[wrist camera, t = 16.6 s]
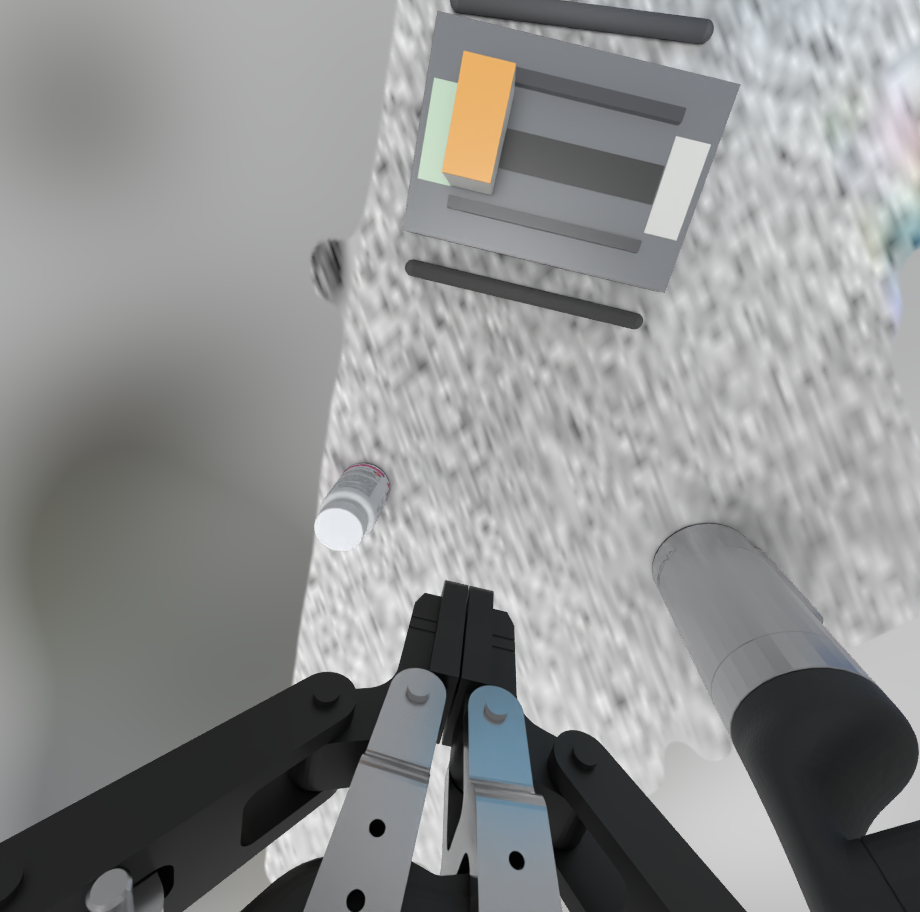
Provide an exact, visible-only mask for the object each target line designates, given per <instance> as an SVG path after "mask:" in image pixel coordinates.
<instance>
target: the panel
mask: <svg viewBox="0 0 920 912" xmlns="http://www.w3.org/2000/svg"><path fill="white" fill-rule="evenodd" d="M464 51H468V52H472V53H476V54H480V55H484V56H488V57H492V58H497V59H501V60H505V61H509V62H513V63H516V73H515V88H514V97H513V102H512V106H511V111H510V115H509V120H508V125H507V129H506V134H505V138H504V143H503V147H502V152H501V157H500V161H499V166H498V170H497V175H496V179H495V184H494V189H493V193H492V195H488V194H484V193H480V192H476V191H472V190H468V189H463V188H459V187H455V186H451V185H450V184H449V182H448V181H447V179H446V177H445V176H444V174H443V173H442V168H443V163H444V157H445V152H446V146H447V141H448V135H449V129H450V124H451V118H452V113H453V107H454V102H455V96H456V91H457V85H458V80H459V74H460V68H461V63H462V57H463V52H464ZM739 87H740V84H737V83H732V82H728V81H724V80H720V79H716V78H712V77H708V76H704V75H700V74H695V73H691V72H687V71H683V70H679V69H675V68H671V67H667V66H663V65H658V64H654V63H650V62H646V61H642V60H638V59H634V58H630V57H626V56H621V55H617V54H613V53H609V52H605V51H601V50H597V49H593V48H588V47H584V46H580V45H576V44H572V43H568V42H564V41H560V40H556V39H551V38H547V37H543V36H539V35H535V34H531V33H527V32H523V31H519V30H514V29H510V28H506V27H502V26H498V25H494V24H490V23H486V22H482V21H477V20H473V19H469V18H465V17H461V16H457V15H453V14H449V13H444V12H440V11H437V17H436V23H435V30H434V36H433V42H432V48H431V55H430V61H429V67H428V73H427V80H426V86H425V92H424V98H423V105H422V111H421V117H420V123H419V130H418V136H417V142H416V149H415V155H414V161H413V167H412V174H411V180H410V186H409V192H408V199H407V205H406V211H405V217H404V224H403V230H405V231H408V232H412V233H416V234H420V235H424V236H429V237H433V238H437V239H441V240H445V241H449V242H454V243H458V244H462V245H466V246H470V247H474V248H479V249H483V250H487V251H491V252H495V253H499V254H503V255H508V256H512V257H516V258H520V259H524V260H528V261H533V262H537V263H541V264H545V265H549V266H553V267H558V268H562V269H566V270H570V271H574V272H578V273H583V274H587V275H591V276H595V277H599V278H603V279H608V280H612V281H616V282H620V283H624V284H628V285H633V286H637V287H641V288H645V289H649V290H653V291H658V292H664V293H665V290H666V287H667V284H668V282H669V279H670V276H671V273H672V271H673V268H674V265H675V262H676V260H677V257H678V254H679V251H680V249H681V246H682V243H683V240H684V238H685V235H686V232H687V229H688V227H689V224H690V221H691V219H692V216H693V213H694V210H695V208H696V205H697V202H698V199H699V197H700V194H701V191H702V188H703V186H704V183H705V180H706V177H707V175H708V172H709V169H710V166H711V164H712V161H713V158H714V155H715V153H716V150H717V147H718V144H719V142H720V139H721V136H722V134H723V131H724V128H725V125H726V123H727V120H728V117H729V114H730V112H731V109H732V106H733V103H734V101H735V98H736V95H737V92H738V90H739Z"/></svg>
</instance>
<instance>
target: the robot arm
mask: <svg viewBox="0 0 920 912" xmlns="http://www.w3.org/2000/svg"><path fill="white" fill-rule="evenodd" d="M652 572H653V577H654V581H655V583H656V585H657V587H658V589H659V591H660V593H661V595H662V597H663V600H664V602H665V604H666V606H667V608H668V610H669V613H670V615H671V617H672V619H673V621H674V623H675V625H676V627H677V629H678V631H679V633H680V635H681V637H682V639H683V641H684V644H685V646H686V648H687V650H688V652H689V654H690V656H691V658H692V660H693V662H694V664H695V666H696V668H697V670H698V672H699V675H700V677H701V679H702V681H703V683H704V685H705V687H706V689H707V691H708V693H709V695H710V697H711V699H712V701H713V703H714V705H715V707H716V709H717V711H718V713H719V716H720V718H721V720H722V722H723V724H724V726H725V728H726V730H727V732H728V734H729V736H730V738H731V740H732V742H733V744H734V746H735V748H736V750H737V752H738V754H739V756H740V758H741V760H742V762H743V764H744V766H745V768H746V770H747V772H748V774H749V776H750V778H751V780H752V782H753V784H754V786H755V788H756V790H757V793H758V795H759V797H760V799H761V801H762V803H763V805H764V807H765V809H766V811H767V813H768V816H769V818H770V820H771V822H772V824H773V826H774V828H775V830H776V833H777V835H778V837H779V839H780V842H781V844H782V846H783V848H784V851H785V853H786V855H787V858H788V860H789V862H790V864H791V867H792V869H793V871H794V873H795V876H796V878H797V881H798V883H799V886H800V888H801V890H802V893H803V895H804V897H805V900H806V902H807V905H808V907H809V909H810V912H920V820H918V821H915V822H912V823H908V824H904V825H901V826H897V827H894V828H890V829H887V830H883V831H880V832H876V833H873V834H869V835H866V832H867V830H868V828H869V827H870V825H871V824H872V822H873V820H874V819H875V818H876V817H877V815H878V814H879V813H880V812H881V811H882V810H883V809H884V808H885V807H886V806H887V805H888V804H889V803H890V802H891V801H892V800H893V799H894V798H895V797H896V796H897V795H898V794H899V793H900V792H901V791H902V790H903V788H904V787H905V786H906V785H907V784H908V782H909V780H910V779H911V777H912V775H913V773H914V771H915V769H916V766H917V762H918V755H919V751H918V742H917V738H916V735H915V733H914V731H913V729H912V727H911V725H910V724H909V722H908V720H907V719H906V718H905V716H904V715H903V714H902V713H901V711H900V710H899V709H898V708H897V707H896V705H895V704H894V703H893V702H892V701H891V700H890V699H889V698H888V697H887V695H886V694H885V693H884V692H883V691H882V690H881V689H880V688H879V687H878V686H877V685H876V684H875V682H874V681H873V680H872V679H871V678H870V677H869V676H868V675H867V674H866V672H865V671H864V670H863V669H862V668H861V667H860V666H859V664H858V663H857V662H856V661H855V660H854V659H853V658H852V657H851V656H850V654H849V653H848V652H847V651H846V650H845V649H844V648H843V647H842V646H841V645H840V644H839V642H838V641H837V640H836V639H835V638H834V637H833V636H832V635H831V633H830V632H829V631H828V630H827V629H826V628H825V627H824V626H823V625H822V624H823V617H822V615H821V614H820V613H819V612H818V611H817V610H816V608H815V607H814V606H813V605H812V604H811V603H810V602H809V601H808V600H807V599H806V598H805V596H804V595H803V594H802V593H801V592H800V591H799V590H798V589H797V588H796V587H795V586H794V584H793V583H792V582H791V581H790V580H789V579H788V578H787V577H786V576H785V575H784V574H783V572H782V571H781V570H780V569H779V568H778V567H777V566H776V565H775V564H774V563H773V562H772V560H771V559H770V558H769V557H768V556H767V555H766V554H765V553H764V552H763V551H762V550H761V549H757V548H754V547H753V546H752V545H751V544H750V543H749V541H748V540H747V539H746V538H745V537H744V536H743V535H741V534H740V533H739V532H738V531H736V530H734V529H732V528H730V527H727V526H723V525H719V524H700V525H694V526H691V527H687V528H685V529H683V530H681V531H679V532H677V533H675V534H674V535H672V536H671V537H670V538H668V539H667V540H666V541H665V542H664V543H663V544H662V546H661V547H660V548H659V550H658V552H657V553H656V555H655V558H654V562H653V571H652ZM514 640H515V637H514V625H513V623H512V621H511V619H510V617H509V615H508V613H507V612H504V611H500V610H496V609H493V591H490V590H486V589H482V588H477V587H473V586H470V587H469V590H468V585H464V584H460V583H456V582H451V581H447V580H445V583H444V587H443V591H442V595H441V597H440V596H436V595H432V594H427V593H424V594H423V595H422V596H421V597H420V598H419V599H418V600H417V601H416V602H415V605H414V609H413V613H412V617H411V621H410V625H409V629H408V632H407V636H406V640H405V644H404V648H403V652H402V655H401V659H400V663H399V667H398V670H397V672H396V674H395V675H394V676H393V677H392V679H390V680H389V681H388V682H386V683H385V684H383V685H380V686H377V687H373V688H362V689H355V687H354V685H353V683H352V682H351V681H350V680H349V679H348V678H346V677H345V676H343V675H341V674H338V673H334V672H321V673H317V674H314V675H312V676H310V677H308V678H306V679H304V680H302V681H300V682H298V683H297V684H295V685H293V686H291V687H289V688H287V689H286V690H284V691H282V692H280V693H278V694H276V695H274V696H273V697H271V698H269V699H267V700H265V701H263V702H261V703H259V704H258V705H256V706H254V707H252V708H250V709H248V710H246V711H245V712H243V713H241V714H239V715H237V716H235V717H234V718H232V719H230V720H228V721H226V722H224V723H222V724H220V725H219V726H217V727H215V728H213V729H211V730H209V731H207V732H206V733H204V734H202V735H200V736H198V737H196V738H194V739H193V740H191V741H189V742H187V743H185V744H183V745H181V746H180V747H178V748H176V749H174V750H172V751H170V752H168V753H167V754H165V755H163V756H161V757H159V758H157V759H155V760H154V761H152V762H150V763H148V764H146V765H144V766H143V767H141V768H139V769H137V770H135V771H133V772H131V773H129V774H128V775H126V776H124V777H122V778H120V779H118V780H117V781H115V782H113V783H111V784H109V785H107V786H105V787H103V788H102V789H100V790H98V791H96V792H94V793H92V794H90V795H89V796H87V797H85V798H83V799H81V800H79V801H77V802H76V803H74V804H72V805H70V806H68V807H66V808H64V809H63V810H61V811H59V812H57V813H55V814H53V815H51V816H50V817H48V818H46V819H44V820H42V821H40V822H38V823H37V824H35V825H33V826H31V827H29V828H27V829H25V830H24V831H22V832H20V833H18V834H16V835H14V836H12V837H11V838H9V839H7V840H5V841H3V842H1V843H0V912H183V911H184V910H185V909H187V908H188V907H189V906H190V905H192V904H193V903H194V902H196V901H197V900H198V899H199V898H201V897H202V896H203V895H205V894H206V893H207V892H208V891H210V890H211V889H212V888H214V887H215V886H216V885H218V884H219V883H220V882H222V881H223V880H224V879H225V878H227V877H228V876H229V875H231V874H232V873H233V872H234V871H236V870H237V869H238V868H240V867H241V866H242V865H244V864H245V863H246V862H247V861H248V860H250V859H251V858H253V857H254V856H255V855H256V854H258V853H259V852H260V851H262V850H263V849H264V848H266V847H267V846H268V845H269V844H271V843H272V842H273V841H275V840H276V839H277V838H278V837H280V836H281V835H282V834H284V833H285V832H286V831H288V830H289V829H290V828H291V827H293V826H294V825H295V824H297V823H298V822H299V821H300V820H302V819H303V818H304V817H306V816H307V815H308V814H310V813H311V812H312V811H313V810H315V809H316V808H317V807H319V806H320V805H321V804H323V803H324V802H325V801H326V800H328V799H329V798H330V797H331V796H332V795H333V794H334V793H335V792H336V791H337V789H340V788H348V787H349V790H348V793H347V796H346V798H345V801H344V804H343V806H342V809H341V812H340V814H339V817H338V820H337V822H336V825H335V828H334V830H333V833H332V836H331V838H330V841H329V844H328V847H327V849H326V852H325V855H324V857H321V858H317V859H313V860H311V861H308V862H305V863H303V864H301V865H299V866H297V867H295V868H293V869H291V870H290V871H288V872H287V873H285V874H284V875H282V876H281V877H280V878H278V879H277V880H276V881H274V882H273V883H272V884H271V885H270V886H269V887H267V888H266V889H265V890H264V891H263V892H262V893H261V894H260V895H258V896H257V897H256V898H255V899H254V900H253V901H252V902H251V903H250V904H248V905H247V906H246V907H245V908H244V909H243V910H242V911H241V912H562V906H561V899H560V897H561V898H562V900H563V901H564V903H565V905H566V906H567V908H568V909H569V911H570V912H746V911H745V909H744V908H743V907H742V906H741V905H740V904H739V902H738V901H737V900H736V899H735V898H734V897H733V895H732V894H731V893H730V892H729V891H728V890H727V889H726V888H725V886H724V885H723V884H722V883H721V882H720V880H719V879H718V878H717V877H716V876H715V875H714V873H713V872H712V871H711V870H710V869H709V868H708V867H707V865H706V864H705V863H704V862H703V861H702V860H701V859H700V858H699V856H698V855H697V854H696V853H695V852H694V850H693V849H692V848H691V847H690V846H689V845H688V843H687V842H686V841H685V840H684V839H683V838H682V837H681V836H680V834H679V833H678V832H677V831H676V830H675V828H673V826H672V825H671V824H670V823H669V822H668V820H667V819H666V818H665V817H664V816H663V815H662V814H661V812H660V811H659V810H658V809H657V808H656V807H655V805H654V804H653V803H652V802H651V801H650V800H649V798H648V797H647V796H646V795H645V794H644V793H643V792H642V790H641V789H640V788H639V787H638V786H637V785H636V783H635V782H634V781H633V780H632V779H631V778H630V777H629V775H628V774H627V773H626V772H625V771H624V770H623V768H622V767H621V766H620V765H619V764H618V763H617V762H616V760H615V759H614V758H613V757H612V756H611V755H610V753H609V752H608V751H607V750H606V749H605V748H604V747H603V745H602V744H601V743H600V742H598V741H597V740H596V739H595V738H593V737H592V736H590V735H588V734H586V733H584V732H581V731H576V730H569V731H565V732H563V733H561V734H560V735H559V736H558V737H556V736H554V735H552V734H550V733H548V732H546V731H545V730H543V729H541V728H539V727H538V726H536V725H535V724H534V723H532V722H531V721H530V720H529V719H528V718H527V717H526V716H525V714H524V713H523V709H522V707H521V705H520V703H519V701H518V700H517V695H516V667H515V642H514ZM443 730H444V731H443ZM442 733H443V739H442V745H446V746H450V747H451V754H450V762H449V765H448V768H447V772H446V775H445V790H444V817H443V844H442V863H441V871H440V876H439V875H435V874H433V873H431V872H429V871H427V870H426V869H424V868H422V867H421V866H419V865H417V864H415V863H414V862H412V856H413V852H414V847H415V842H416V838H417V833H418V829H419V824H420V820H421V815H422V811H423V806H424V802H425V797H426V792H427V788H428V783H429V778H430V774H429V773H430V768H431V763H432V759H433V754H434V750H435V746H436V743H437V744H439V743H440V740H441V736H442ZM865 835H866V836H865Z"/></svg>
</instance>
